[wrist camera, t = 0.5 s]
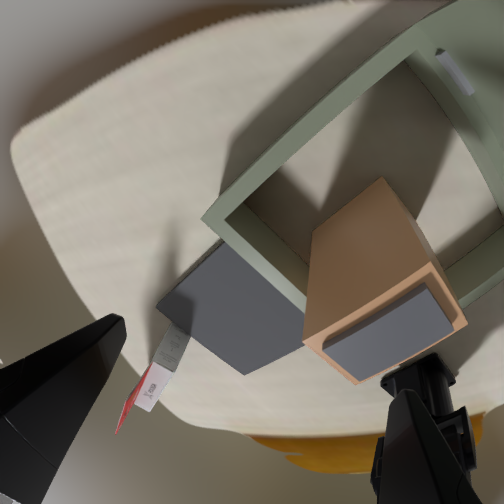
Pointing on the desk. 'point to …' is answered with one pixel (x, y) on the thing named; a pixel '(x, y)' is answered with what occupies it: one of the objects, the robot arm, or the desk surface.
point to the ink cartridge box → (157, 371)
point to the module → (375, 288)
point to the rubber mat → (235, 312)
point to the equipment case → (452, 103)
